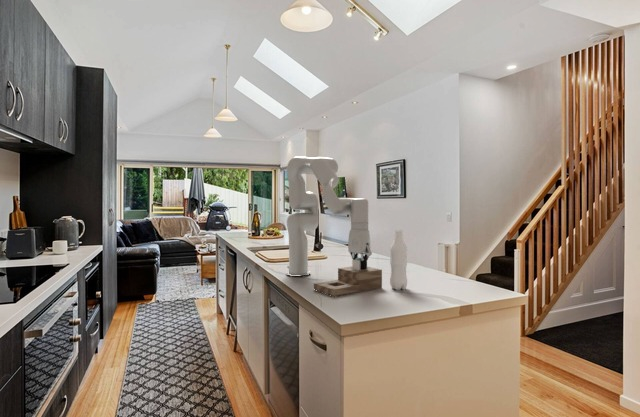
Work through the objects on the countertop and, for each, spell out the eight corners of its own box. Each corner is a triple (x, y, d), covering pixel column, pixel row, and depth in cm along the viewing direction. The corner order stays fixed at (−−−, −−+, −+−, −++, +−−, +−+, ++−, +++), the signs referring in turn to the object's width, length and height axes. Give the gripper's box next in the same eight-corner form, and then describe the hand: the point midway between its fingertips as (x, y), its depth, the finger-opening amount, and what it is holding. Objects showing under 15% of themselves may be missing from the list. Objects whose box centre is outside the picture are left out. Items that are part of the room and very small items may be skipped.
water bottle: (408, 290, 162) (408, 231, 161) (391, 290, 162) (391, 231, 161) (405, 286, 169) (405, 229, 168) (388, 286, 169) (388, 229, 168)
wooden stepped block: (313, 290, 163) (313, 271, 163) (360, 282, 178) (360, 265, 178) (333, 297, 151) (333, 276, 151) (381, 288, 166) (381, 269, 166)
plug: (352, 275, 169) (352, 257, 169) (360, 274, 171) (360, 256, 171) (359, 277, 165) (359, 259, 165) (367, 276, 168) (367, 258, 168)
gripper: (340, 226, 173) (340, 266, 173) (366, 228, 159) (366, 272, 159) (353, 225, 177) (353, 265, 177) (379, 227, 163) (379, 270, 163)
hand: (359, 268), depth 168 cm, fingers closed on plug, 4 cm apart
